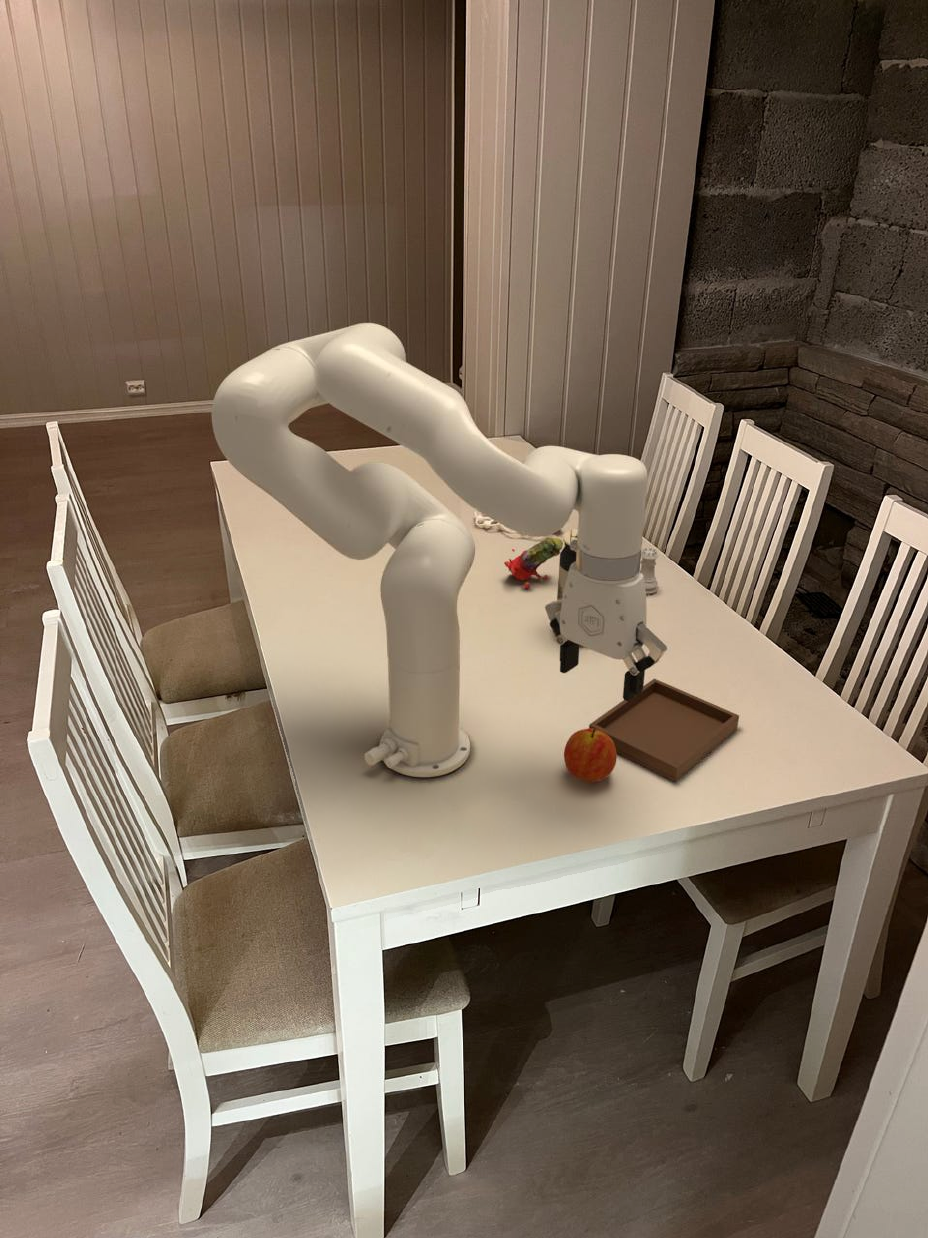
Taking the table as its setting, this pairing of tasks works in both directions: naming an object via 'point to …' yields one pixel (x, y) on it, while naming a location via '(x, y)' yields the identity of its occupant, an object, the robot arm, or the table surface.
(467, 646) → the table surface
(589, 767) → the fruit
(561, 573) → the travel mug
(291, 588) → the table surface
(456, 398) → the robot arm
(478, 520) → the tangled rod sculpture
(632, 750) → the tray
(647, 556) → the rook chess piece
